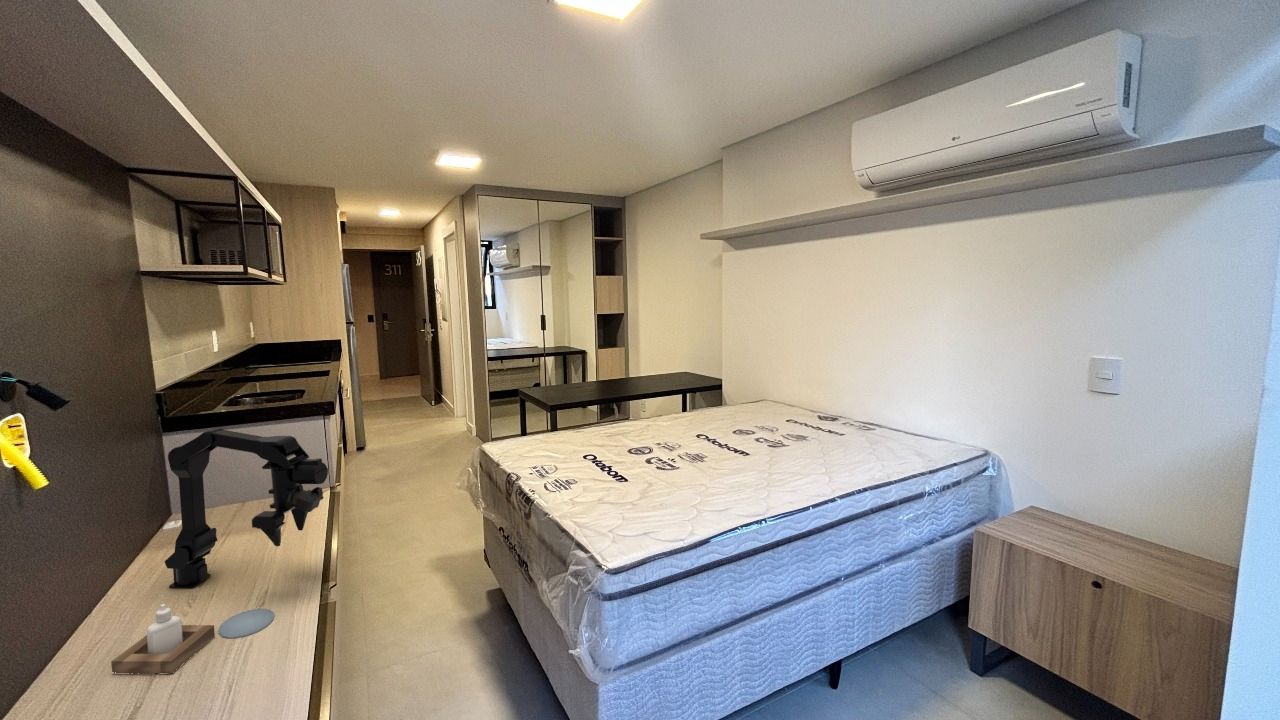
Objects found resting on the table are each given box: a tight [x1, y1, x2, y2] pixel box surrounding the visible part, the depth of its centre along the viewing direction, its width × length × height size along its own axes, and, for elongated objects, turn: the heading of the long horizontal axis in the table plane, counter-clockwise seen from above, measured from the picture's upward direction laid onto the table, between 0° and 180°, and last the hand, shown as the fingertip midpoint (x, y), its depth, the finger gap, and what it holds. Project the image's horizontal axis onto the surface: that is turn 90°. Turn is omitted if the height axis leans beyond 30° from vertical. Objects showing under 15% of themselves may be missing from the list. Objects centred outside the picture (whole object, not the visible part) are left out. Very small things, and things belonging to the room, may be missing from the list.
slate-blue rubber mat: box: [217, 608, 275, 639], centre depth 126 cm, size 11×11×1 cm
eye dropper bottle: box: [146, 603, 183, 654], centre depth 114 cm, size 4×6×12 cm
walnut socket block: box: [110, 624, 216, 675], centre depth 115 cm, size 12×12×3 cm
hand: (289, 537), depth 141 cm, fingers open, 9 cm apart
